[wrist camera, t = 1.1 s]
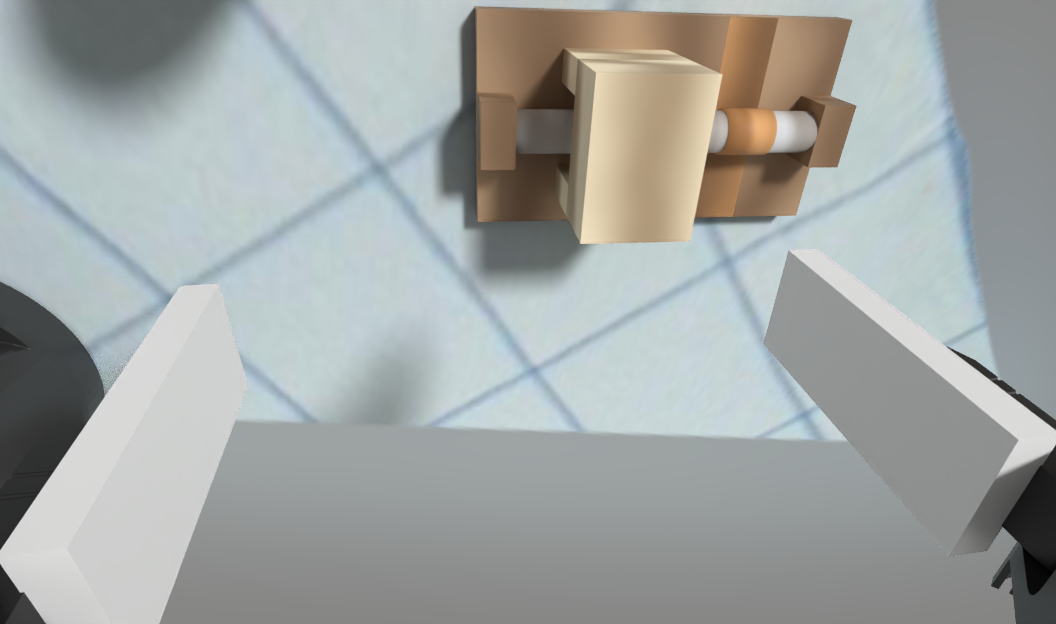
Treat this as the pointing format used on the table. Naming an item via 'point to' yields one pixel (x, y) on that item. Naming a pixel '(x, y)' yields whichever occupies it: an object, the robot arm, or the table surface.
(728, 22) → the rail
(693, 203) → the collar
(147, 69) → the table surface
